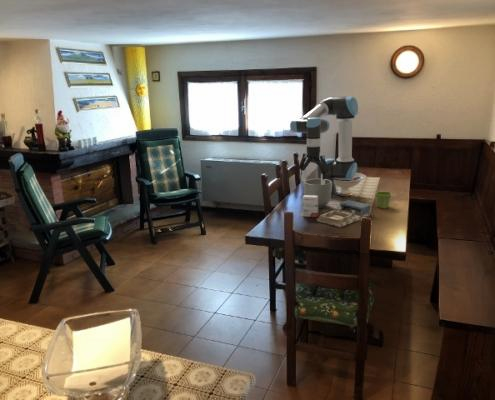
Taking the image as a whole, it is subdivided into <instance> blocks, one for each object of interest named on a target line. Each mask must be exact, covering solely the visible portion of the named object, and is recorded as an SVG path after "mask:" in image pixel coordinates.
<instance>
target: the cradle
mask: <svg viewBox="0 0 495 400" xmlns="http://www.w3.org/2000/svg"><path fill="white" fill-rule="evenodd" d="M365 216H367V217H369V216H371V212H369V213H366V214H364V215H361V210H357V209H352V208H346V209H343V210H342V208H341V207H338V210H331V211H328V212H325V213H323V214H320V215H319V217H316V221H317V222H319V223H324V224H326V223H327V224H326V225H330V226H333V225H334V226H333V227H337V228H342V226H343V227H344V226H347V224H348V225H350V224H352V223H355V222H357V221H359V220H362V219H363V218H362V217H365ZM361 218H362V219H361ZM365 218H366V217H365Z"/></svg>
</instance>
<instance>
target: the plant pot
mask: <svg viewBox="0 0 495 400" xmlns="http://www.w3.org/2000/svg"><path fill="white" fill-rule="evenodd" d="M392 195H393V193H392V192H389V191H376V192H375V196H376V202H377V208H380V209H387V208H389V205H390V200H391V197H392Z"/></svg>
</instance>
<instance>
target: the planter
mask: <svg viewBox="0 0 495 400" xmlns="http://www.w3.org/2000/svg"><path fill="white" fill-rule="evenodd" d="M331 192H332V181H331V180H328V179H325V185H321V179H317V178H309V179H306V181H304V182H303V194H304V195H312V196H318V210H319V209H324V208H325V207H326V206H327V205H328V204H329V203H330V202H331V198H332V194H331ZM304 195H303V196H304Z"/></svg>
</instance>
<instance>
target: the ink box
mask: <svg viewBox="0 0 495 400" xmlns="http://www.w3.org/2000/svg"><path fill="white" fill-rule="evenodd" d="M301 199H302V200H301V201H302V217H308V218H309V217H312V218H318V216H319V209H318V196H312V195H303V196H302V197H301Z"/></svg>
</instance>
